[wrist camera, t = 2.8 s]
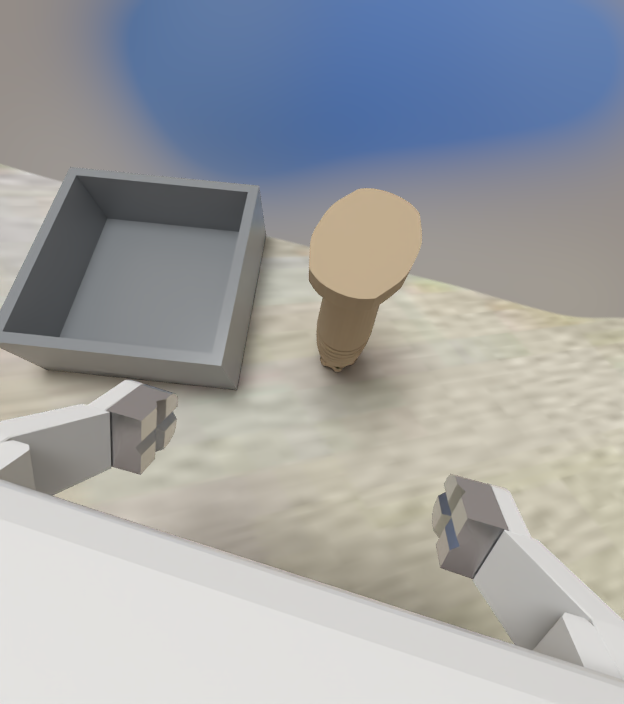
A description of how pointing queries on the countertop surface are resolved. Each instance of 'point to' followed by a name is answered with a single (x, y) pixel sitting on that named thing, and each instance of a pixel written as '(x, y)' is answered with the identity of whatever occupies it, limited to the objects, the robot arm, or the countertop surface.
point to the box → (140, 279)
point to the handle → (359, 267)
